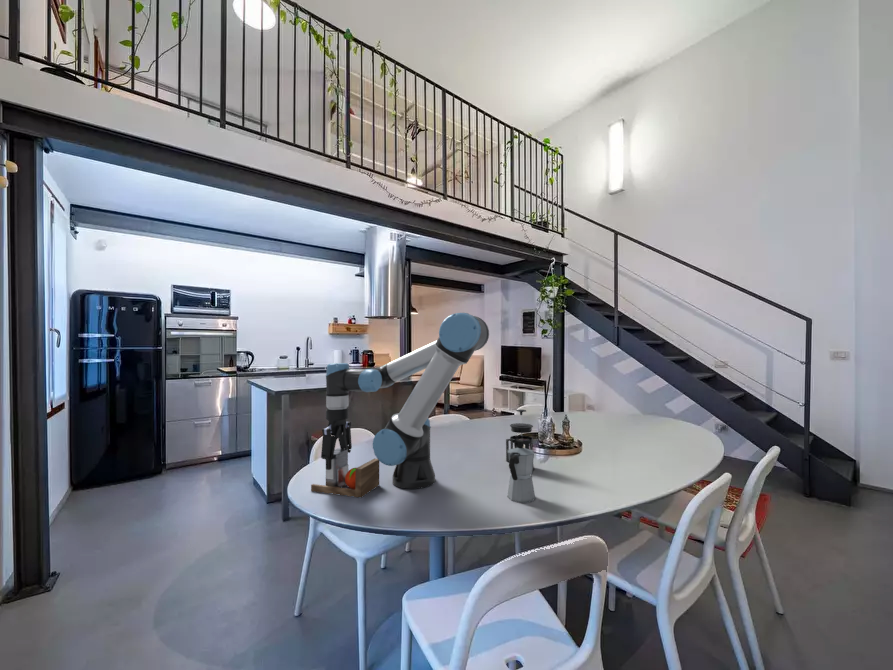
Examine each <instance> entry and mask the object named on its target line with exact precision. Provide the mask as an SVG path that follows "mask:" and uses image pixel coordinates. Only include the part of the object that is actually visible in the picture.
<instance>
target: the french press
mask: <svg viewBox="0 0 893 670" xmlns="http://www.w3.org/2000/svg"><path fill="white" fill-rule="evenodd" d="M515 411H516V412H519V415H520V423H519V422H517V423H516V422H515V423H511V424H509V427H510V430H511V432H513V433H517V434H520V435H511V436H510V437H509V438H505V459H506V461H505V462H507V463H508V464H509V458H508V450H509V449H513V448H518V444H517V440H524V444H523V445H524V448H526V449H529V450H533V447H534V446H533V444H534V438H533V437H532V436H530V435H523V434H528V433H531V432H532V431H533V427H534V426H533V424H531V423H530V424H529V423H523V422H522V421H523V413H524V412H526V413H527V410H526V409H522V408H521V409H516V410H515ZM509 443H510V447H509ZM533 451H534V450H533ZM534 470H535V467H534V466H533V468H532V472H533V471H534Z"/></svg>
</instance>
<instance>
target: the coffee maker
mask: <svg viewBox="0 0 893 670" xmlns="http://www.w3.org/2000/svg"><path fill="white" fill-rule="evenodd" d="M524 440H525V439H522V440H521V439H518V440H517V444H518V448H515V447H513V449H511V448H509V450H508V458H509V463H508V467H509V472H510V476H509V484H508V490H507V496H506V497H507V498H508V499H509V500H510V501H511V502H516V503H519V504H520V503H521V504H524V503H525V504H526V503H532V502H534V500H535V499H536V495H535V493H536V492H535V488H534V482H533V476H531V475H532V474H533V471H532V468H533V467H534V458H535V453H534V450H530V448H529V449H526V448H525V447H524V445H525V444H524Z"/></svg>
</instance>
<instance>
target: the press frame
mask: <svg viewBox="0 0 893 670" xmlns="http://www.w3.org/2000/svg"><path fill="white" fill-rule="evenodd" d="M355 468H356V480H355V489H351V488H349V487H348V488H346V487H342V488H340V487H333V486H326V484H325V485H323V484H318V483H317V484H316V483H312V484H310V491H311V492H314V491H315V492H316V493H322V492H324V494H329V493H333V494H332V495H336V494H340V495H339V496H344V495H347V496H346V497H351V496H354V497H353V498H358V497H361V498H362V496H363V497H364V496H366V495H367V494H368V492H369V491H370V492H372V491H373V490H375V489H376V488H378V487H379V486H380V461H379V460H378V459H377V458H373V459H371V460H369V461H367V462H365V463H363V464H361V465H360V466H357V467H355ZM378 485H379V486H378ZM375 487H376V488H375ZM374 488H375V489H374ZM372 489H373V490H372ZM371 490H372V491H371ZM370 492H369V493H370ZM365 494H366V495H365Z"/></svg>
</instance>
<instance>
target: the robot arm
mask: <svg viewBox="0 0 893 670" xmlns="http://www.w3.org/2000/svg"><path fill="white" fill-rule="evenodd" d="M438 329H439V330H438V331H439V332H438V338H437V339H436V340H434V341H432V342H430V343H428V344H426V345H425V344H424V345H423V346H421V347H419V348H417V349H415V350H413V351H411V352H409V353H406V354H404V355H403V356H399V358H396V359H395V360H392V361H390V362H388V363H386V364H384V365H381V366H379V367H373V368H371V367H370V368H357V369H356V368H355V369H354V368H350V365H349V363H346V362H345V363H344V362H335V363H333V362H332V363H328V364H327V366H326V373H325V381H326V383H325V384H326V385H325V386H326V387H325V388H326V395H325V397H326V399H325V401H326V402H325V403H326V404H325V407H326V408H327V409H325V419H326V421H328V424H327V427H324V428H322V429H321V431H322V442H321V455H320V459H322V460H325V480H326V479H334V459H333V454H334V450H335V449H336V443H337V440H338V444H339V448H340V449H348V454H350V453H351V451H352V448H353V447H352V433H351V432H352V431H351V427H352V422H351V421H346V420H348V419H349V415H350V414H349V406H350V405H349V403H350V402H349V401H350V400H349V398H350V396H349V392H361V393H362V392H364V393H371V392H372V393H373V392H374V393H375V392H377V391H379V389H386V388H389V387H391V386H393V385H394V384H395V383H397V382H399V381H402V380H403V379H407V378H409V377H410V376H414V375H415V374H417V373H419V372H421V371H423V373H422V375H420V377H419V379H418V381H417V382H416V384H415V386H414V387H413V389H412V391H411V393H410V395H409V396H408V398H407V400H406V401H405V403H404V405H403V406H402V408H401V410H400V411H399V413H394V414H393V415H391V417H390V418H389V420H388V421H387V424H386V425H385V427H384V428H382V429H380V430H379V431H378V432H377V433H376V434H375V435H374V436H373V440H372V449H373V453H374V456H375V457H376V459H378V460H379V463H381V464H383V465H385V466H389V467H393V466H395V468H394V471H393V473H392V484H393V486H395V487H397V488H401V489H407V490H408V489H409V490H415V489H424V488H427V487H430V486H432V485H434V484H435V482H436V474H435V470H434V467H433V464H432V461H431V421H430V419H429V416H430V415H431V414H432V412H433V410H434V408H435V406H436V405H437V404H438V402H439V400H440V398H441V397H442V395H443V394H444V392H445V390H446V389H447V387H448V385H450V382H451V380H452V379H453V378H454V376H455V374H456V373H457V371H458V369H459V368H460V366H462V365H466V364H468V362H469V360H470V359H471V357H473V354H474V352H476V351H479V350H481V349H482V348H483V347H485V345H486V344H487V342H488V340H489V337H490V329H489V326H488V324H487V323H486V322H485V321H484V319H482V318H481V317H478V316H476V315H473V314H469V313H468V312H455V313H452V314H450V315H448V316H447V317H446V318H445V319H444V320H443V321H442V322H441V323H440V326H439V328H438Z"/></svg>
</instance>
